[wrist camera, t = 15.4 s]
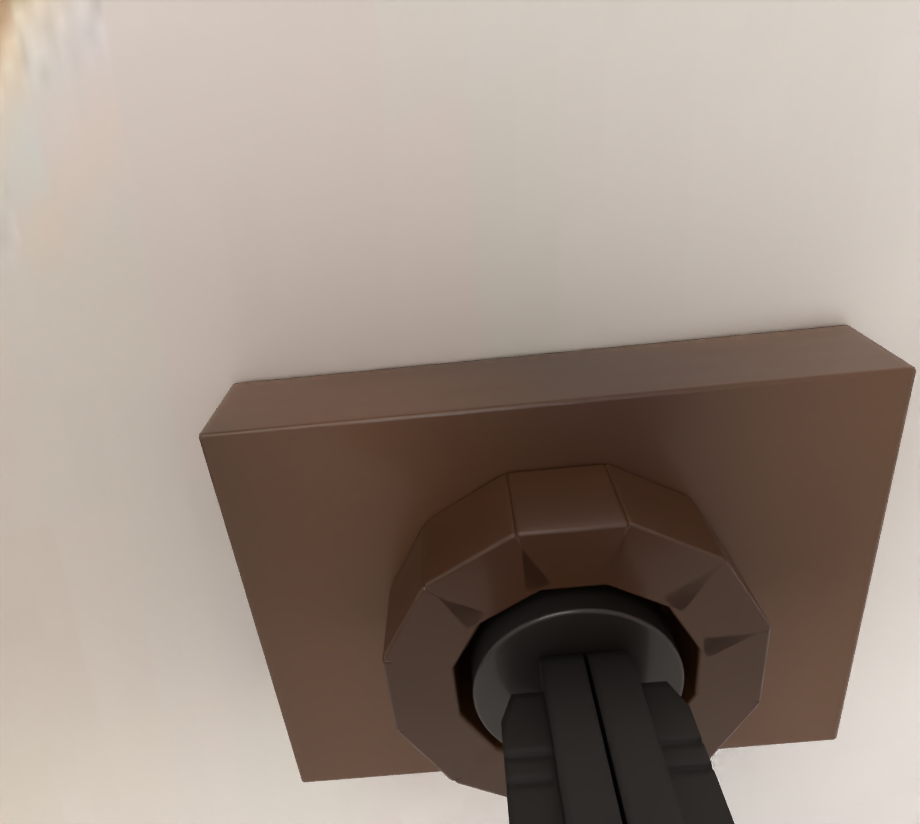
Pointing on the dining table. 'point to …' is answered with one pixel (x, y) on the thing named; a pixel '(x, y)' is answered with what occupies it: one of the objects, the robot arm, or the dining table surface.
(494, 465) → the button block
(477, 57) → the dining table surface
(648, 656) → the desk button
